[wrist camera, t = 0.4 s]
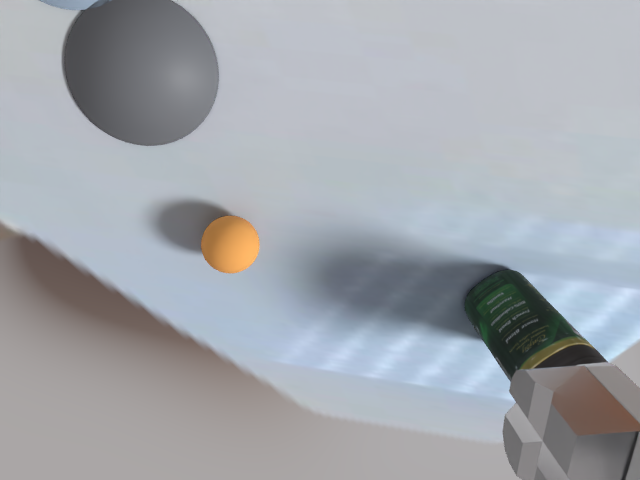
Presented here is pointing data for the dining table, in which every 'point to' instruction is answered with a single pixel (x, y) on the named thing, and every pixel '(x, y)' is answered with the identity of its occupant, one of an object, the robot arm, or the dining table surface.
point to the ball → (230, 244)
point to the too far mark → (74, 3)
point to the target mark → (142, 70)
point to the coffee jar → (524, 326)
